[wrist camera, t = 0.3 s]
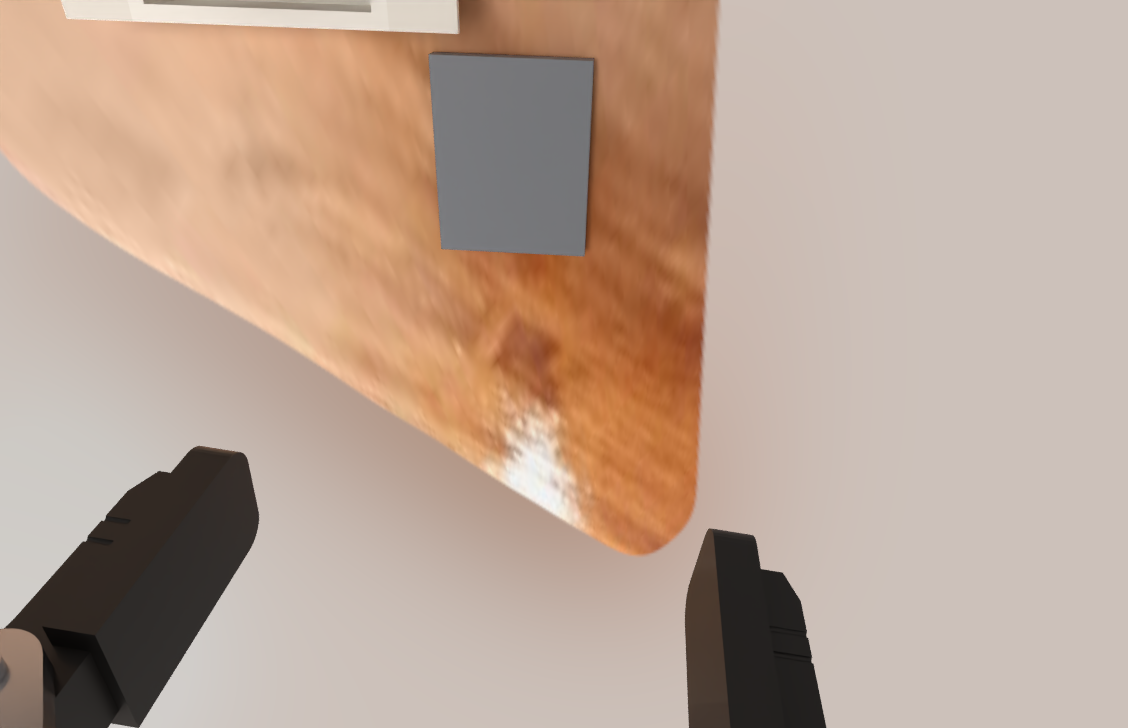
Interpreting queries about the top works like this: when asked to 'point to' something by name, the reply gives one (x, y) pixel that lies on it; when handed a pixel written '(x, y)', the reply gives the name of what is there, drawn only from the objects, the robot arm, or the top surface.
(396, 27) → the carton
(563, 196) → the mat
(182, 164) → the top surface
